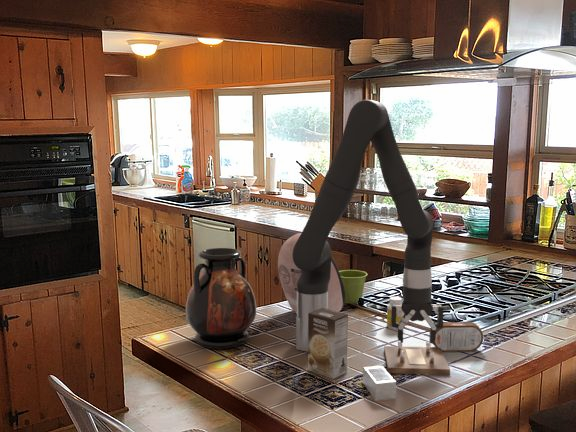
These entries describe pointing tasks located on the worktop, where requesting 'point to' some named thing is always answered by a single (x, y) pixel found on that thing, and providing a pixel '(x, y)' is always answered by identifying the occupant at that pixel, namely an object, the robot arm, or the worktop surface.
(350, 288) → the plant pot
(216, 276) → the amphora vase
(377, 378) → the white rectangular box
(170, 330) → the worktop surface
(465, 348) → the tin
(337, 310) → the pink rounded upright piece
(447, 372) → the pin tray
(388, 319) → the supplement bottle
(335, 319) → the coffee box
